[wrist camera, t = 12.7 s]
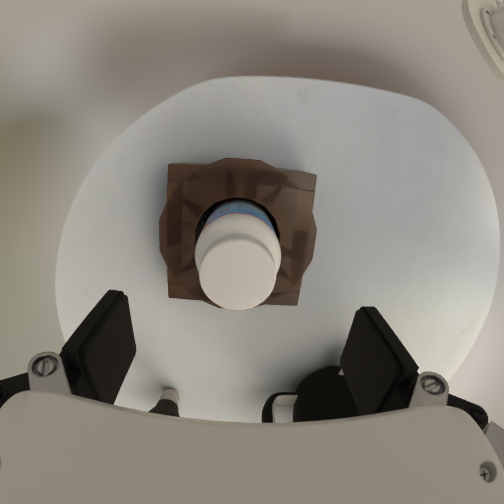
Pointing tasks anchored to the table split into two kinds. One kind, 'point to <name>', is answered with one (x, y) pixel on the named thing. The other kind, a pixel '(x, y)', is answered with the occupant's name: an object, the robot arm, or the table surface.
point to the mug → (316, 398)
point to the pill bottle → (238, 255)
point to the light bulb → (167, 404)
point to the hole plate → (239, 186)
